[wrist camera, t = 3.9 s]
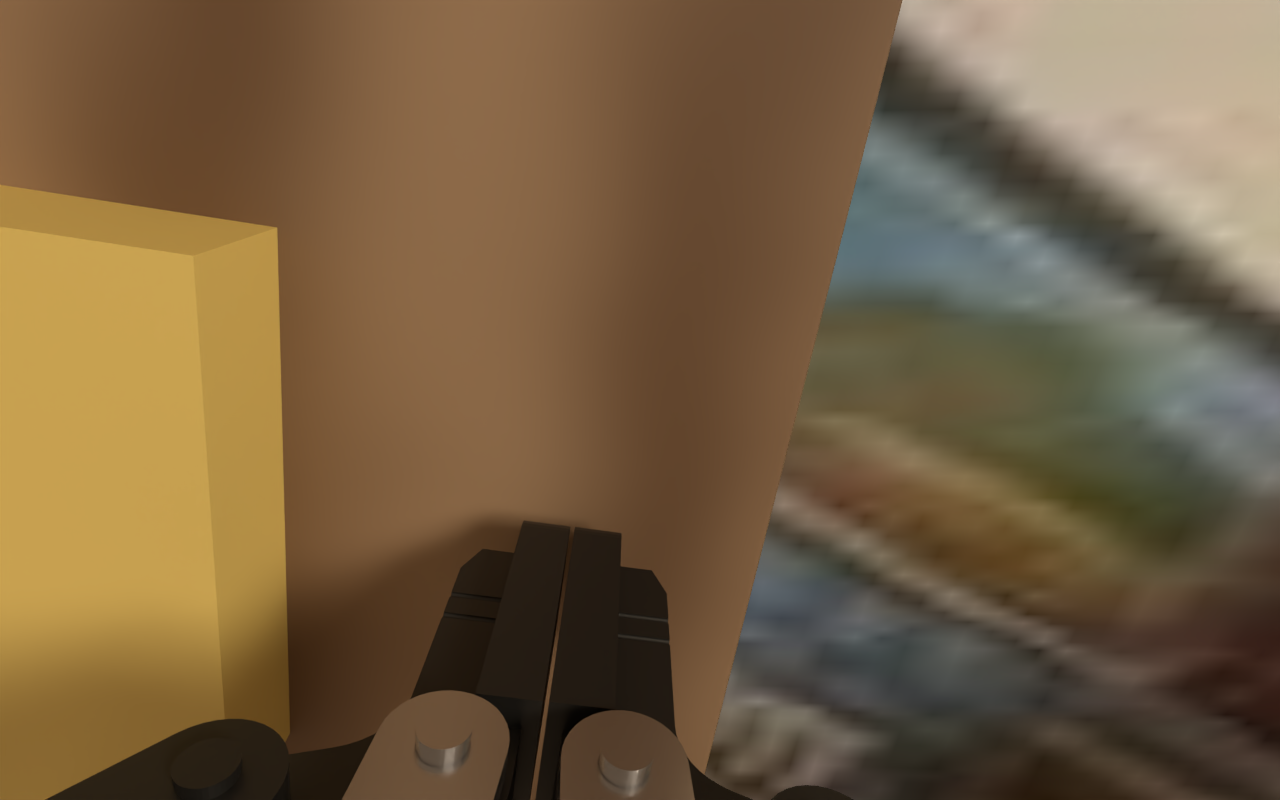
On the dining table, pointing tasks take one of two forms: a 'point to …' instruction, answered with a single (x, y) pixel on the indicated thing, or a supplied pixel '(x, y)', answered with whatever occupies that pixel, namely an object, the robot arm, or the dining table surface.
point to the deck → (490, 278)
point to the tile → (135, 483)
